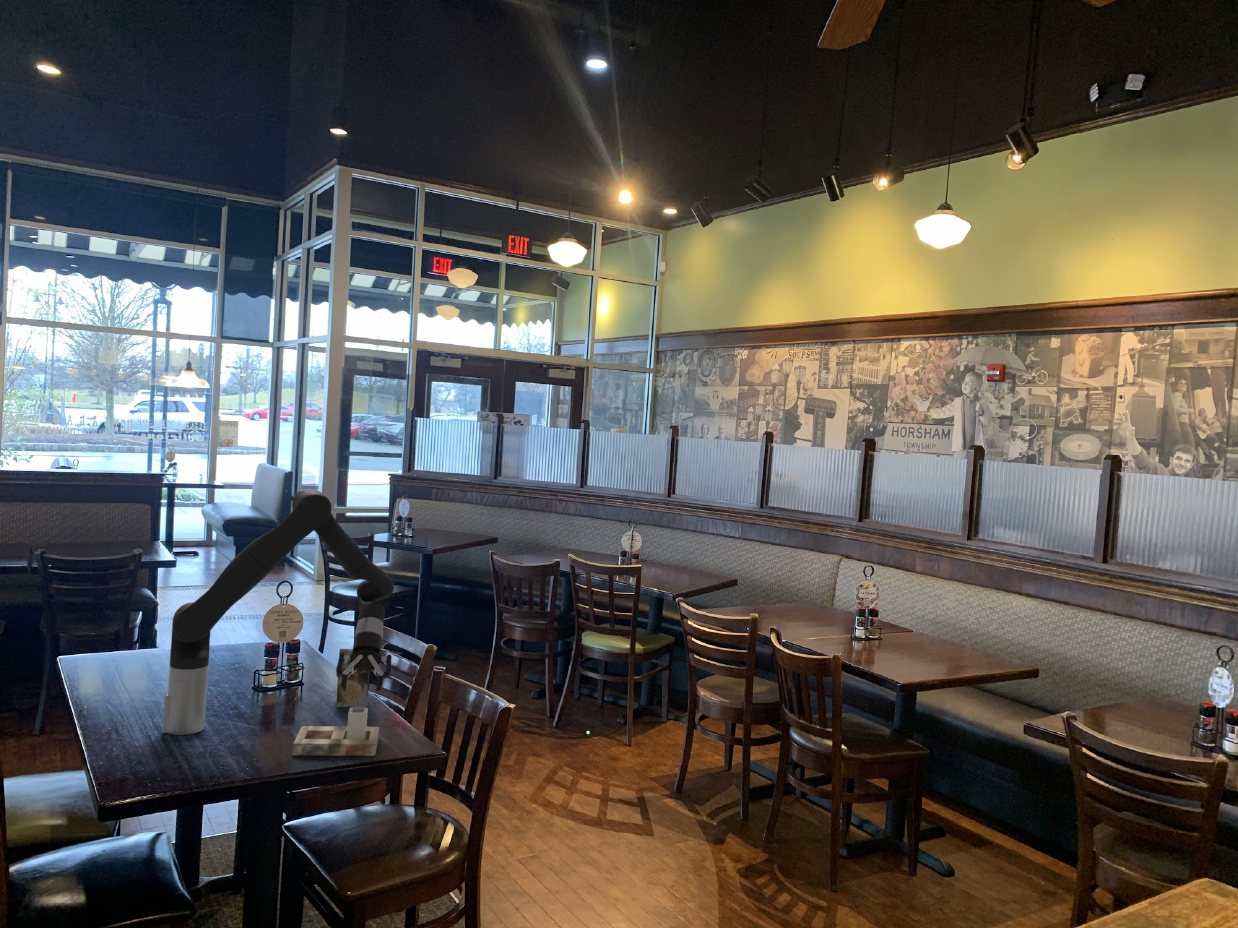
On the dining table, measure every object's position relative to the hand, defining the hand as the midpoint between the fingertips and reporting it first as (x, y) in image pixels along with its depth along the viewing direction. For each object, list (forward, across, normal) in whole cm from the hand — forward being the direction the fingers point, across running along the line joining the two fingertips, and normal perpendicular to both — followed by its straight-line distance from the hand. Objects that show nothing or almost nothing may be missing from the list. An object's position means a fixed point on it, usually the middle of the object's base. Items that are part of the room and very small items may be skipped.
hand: (361, 690), depth 232 cm
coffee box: (-12, -5, +31) cm, 34 cm away
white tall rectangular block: (+12, 0, +6) cm, 14 cm away
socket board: (+13, -4, +6) cm, 15 cm away
